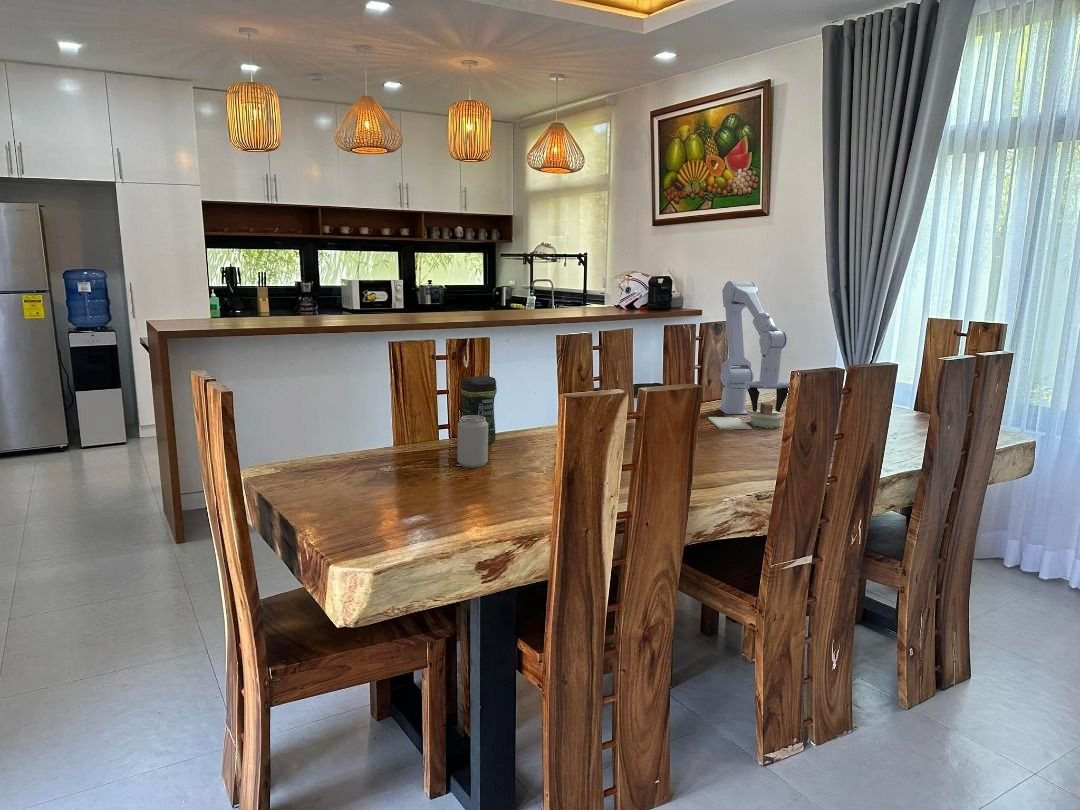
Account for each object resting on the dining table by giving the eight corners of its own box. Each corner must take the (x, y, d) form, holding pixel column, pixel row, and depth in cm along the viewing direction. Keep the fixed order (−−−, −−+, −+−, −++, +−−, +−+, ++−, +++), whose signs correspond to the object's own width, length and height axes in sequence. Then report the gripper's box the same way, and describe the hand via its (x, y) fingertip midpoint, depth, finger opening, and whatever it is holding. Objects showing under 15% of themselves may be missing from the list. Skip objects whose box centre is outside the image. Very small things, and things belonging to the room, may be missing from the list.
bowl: (746, 421, 237) (747, 412, 237) (773, 421, 238) (774, 412, 237) (755, 427, 228) (756, 418, 228) (783, 428, 229) (784, 419, 228)
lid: (743, 411, 238) (744, 400, 237) (776, 412, 238) (777, 400, 237) (754, 419, 227) (755, 407, 226) (789, 419, 227) (790, 408, 227)
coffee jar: (470, 448, 196) (470, 380, 192) (455, 441, 202) (455, 375, 198) (500, 443, 202) (501, 377, 198) (485, 437, 208) (486, 372, 204)
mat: (707, 418, 239) (707, 417, 239) (737, 419, 240) (738, 417, 239) (719, 429, 225) (720, 427, 225) (751, 429, 226) (752, 427, 226)
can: (451, 463, 182) (451, 416, 179) (473, 458, 187) (474, 412, 184) (471, 470, 177) (471, 422, 174) (494, 464, 182) (494, 417, 180)
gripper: (751, 370, 225) (747, 413, 228) (797, 371, 226) (793, 414, 229) (744, 366, 232) (740, 408, 235) (789, 367, 233) (784, 409, 235)
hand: (766, 411), depth 232 cm, fingers open, 7 cm apart
